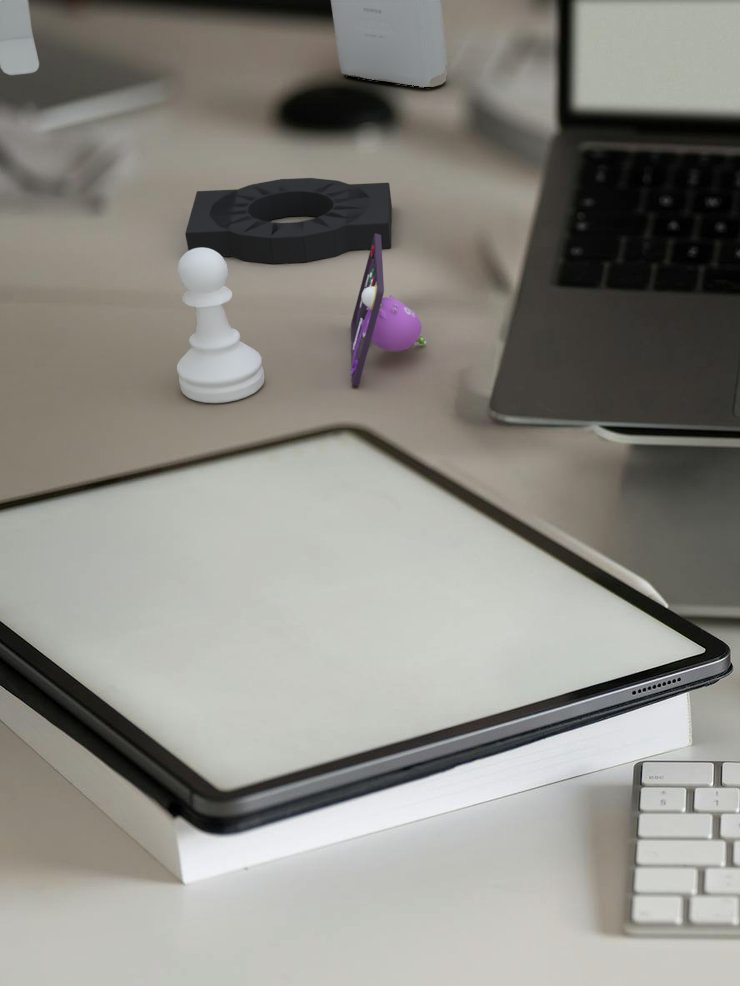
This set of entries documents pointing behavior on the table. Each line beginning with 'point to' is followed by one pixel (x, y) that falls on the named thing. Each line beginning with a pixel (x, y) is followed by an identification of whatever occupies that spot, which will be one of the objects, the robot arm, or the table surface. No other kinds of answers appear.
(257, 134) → the table surface
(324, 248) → the socket pad
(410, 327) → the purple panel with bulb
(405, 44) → the photo printer
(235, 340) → the chess pawn
